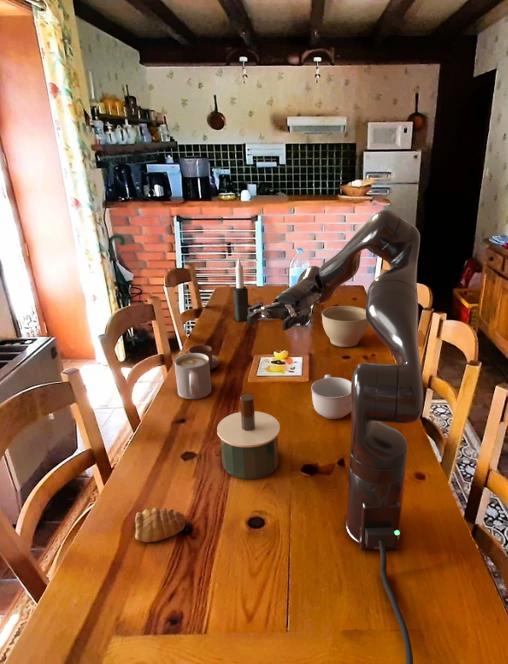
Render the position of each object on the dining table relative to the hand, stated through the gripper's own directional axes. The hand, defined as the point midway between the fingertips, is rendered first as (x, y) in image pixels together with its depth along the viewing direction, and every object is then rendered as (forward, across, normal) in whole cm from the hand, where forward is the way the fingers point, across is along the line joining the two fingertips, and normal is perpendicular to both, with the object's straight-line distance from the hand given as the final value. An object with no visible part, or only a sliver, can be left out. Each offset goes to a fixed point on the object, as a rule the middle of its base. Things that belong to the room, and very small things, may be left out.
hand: (266, 323), depth 107 cm
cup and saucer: (-27, -37, +30) cm, 55 cm away
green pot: (+11, 0, +29) cm, 31 cm away
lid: (+11, 0, +21) cm, 24 cm away
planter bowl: (-63, 0, +29) cm, 70 cm away
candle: (-72, -46, +29) cm, 91 cm away
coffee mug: (-11, -29, +30) cm, 43 cm away
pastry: (+37, -7, +30) cm, 48 cm away
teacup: (-18, +10, +30) cm, 36 cm away
